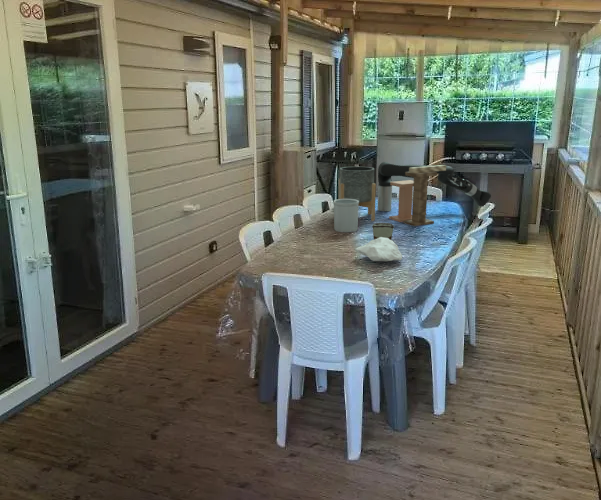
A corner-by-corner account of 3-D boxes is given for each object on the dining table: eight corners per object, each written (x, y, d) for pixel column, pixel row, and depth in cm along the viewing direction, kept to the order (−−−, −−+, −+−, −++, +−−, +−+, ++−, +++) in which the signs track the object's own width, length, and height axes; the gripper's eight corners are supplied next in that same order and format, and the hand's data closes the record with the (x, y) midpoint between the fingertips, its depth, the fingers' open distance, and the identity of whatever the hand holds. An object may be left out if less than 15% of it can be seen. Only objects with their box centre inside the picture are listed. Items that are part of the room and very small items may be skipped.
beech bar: (442, 169, 344) (442, 164, 344) (445, 170, 342) (446, 165, 341) (408, 172, 333) (409, 167, 332) (412, 173, 330) (412, 168, 329)
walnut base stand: (423, 220, 351) (426, 170, 343) (433, 223, 343) (436, 172, 334) (403, 223, 344) (405, 172, 336) (413, 226, 336) (416, 173, 327)
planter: (375, 221, 351) (376, 170, 343) (340, 221, 352) (340, 170, 343) (371, 213, 373) (372, 166, 364) (338, 213, 373) (338, 166, 364)
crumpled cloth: (347, 264, 257) (351, 245, 254) (360, 244, 289) (363, 228, 287) (397, 275, 252) (401, 256, 249) (404, 254, 285) (408, 237, 282)
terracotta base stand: (408, 216, 364) (410, 180, 358) (420, 219, 354) (422, 182, 348) (388, 218, 357) (390, 181, 351) (400, 222, 347) (401, 184, 340)
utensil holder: (356, 233, 320) (357, 203, 316) (331, 232, 323) (331, 202, 319) (359, 227, 334) (360, 199, 330) (335, 226, 337) (335, 198, 333)
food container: (393, 240, 304) (393, 222, 302) (394, 243, 298) (394, 225, 296) (370, 239, 306) (371, 222, 303) (371, 242, 300) (371, 224, 297)
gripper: (473, 194, 350) (457, 183, 341) (457, 191, 362) (442, 180, 354) (478, 184, 350) (463, 172, 341) (462, 181, 362) (447, 170, 354)
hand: (452, 176), depth 348 cm, fingers open, 8 cm apart
